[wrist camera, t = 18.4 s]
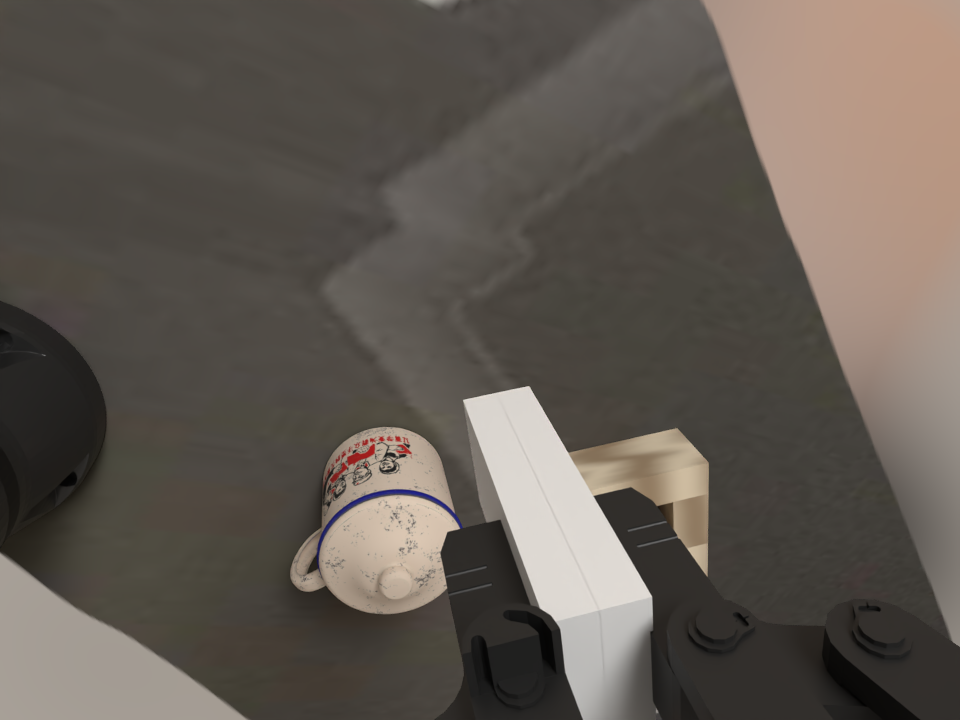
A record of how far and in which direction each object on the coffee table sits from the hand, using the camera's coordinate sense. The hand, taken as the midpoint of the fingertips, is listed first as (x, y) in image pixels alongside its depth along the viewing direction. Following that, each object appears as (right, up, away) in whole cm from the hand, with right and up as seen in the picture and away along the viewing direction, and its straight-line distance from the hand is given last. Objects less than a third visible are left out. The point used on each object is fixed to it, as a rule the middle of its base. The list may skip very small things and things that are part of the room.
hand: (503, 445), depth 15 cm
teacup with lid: (-9, -7, +34) cm, 36 cm away
